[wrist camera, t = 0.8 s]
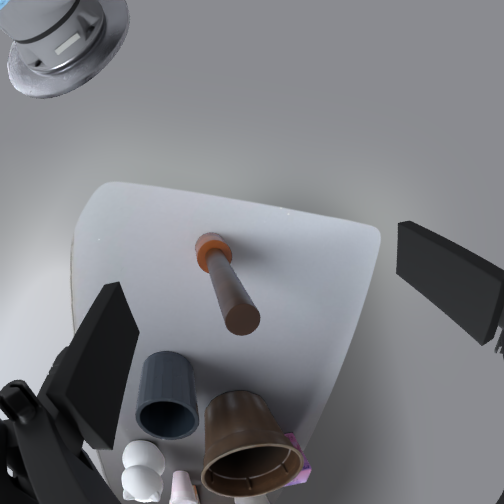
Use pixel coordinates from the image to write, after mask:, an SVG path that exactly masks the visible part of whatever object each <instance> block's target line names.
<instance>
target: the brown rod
mask: <svg viewBox="0 0 504 504" xmlns="http://www.w3.org/2000/svg"><path fill="white" fill-rule="evenodd" d="M195 250H196V256H197V261H198V264H199V266H200V268H201V269H202V270H203V271H205V272H207V273H209V274H210V277H211V280H212V283H213V287H214V290H215V293H216V296H217V299H218V303H219V306H220V309H221V312H222V315H223V318H224V321H225V324H226V327H227V329H228V330H229V331H230V332H231V333H233V334H235V335H240V336H243V335H248V334H250V333H252V332H253V331H254V330H255V329H256V328H257V327H258V325H259V323H260V313H259V311H258V310H257V308H256V306H255V305H254V303H253V301H252V300H251V298H250V296H249V295H248V293H247V292H246V290H245V288H244V287H243V285H242V283H241V282H240V280H239V278H238V277H237V275H236V273H235V272H234V270H233V268H232V267H231V265H230V264H231V260H232V253H231V250H230V248H229V246H228V245H227V244H226V242H225V241H224V240H223V238H222V237H221V236H220V235H218V234H216V233H206V234H203V235H202V236H201V237H200V238H199V239H198V240H197V242H196V245H195Z"/></svg>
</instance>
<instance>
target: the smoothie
mask: <svg viewBox="0 0 504 504" xmlns="http://www.w3.org/2000/svg"><path fill="white" fill-rule="evenodd" d="M169 502H170V504H198V500H196V497H195V494H194V491H193V487H192V484H191V481H190V477H189V474H188V472H186V471H181V470H180V471H175V472H174V473H173V481H172V493H171V499H170V501H169Z"/></svg>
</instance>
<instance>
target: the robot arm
mask: <svg viewBox="0 0 504 504" xmlns="http://www.w3.org/2000/svg"><path fill="white" fill-rule="evenodd" d="M104 23H105V14H104V11H103V8H102V6H101V4H100V2H99V1H98V0H0V29H1V30H2V31H4V32H5V33H6V34H7V35H8V36H10V37H11V38H12V39H13V40H15V41H16V44H17V47H18V50H19V53H20V56H21V59H22V61H23V63H24V64H25V65H26V66H27V67H28V68H29V69H31V70H32V71H34V72H37V73H42V74H46V73H53V72H56V71H59V70H62V69H64V68H66V67H68V66H70V65H71V64H73V63H75V62H76V61H77V60H79V59H80V58H81V57H82V56H84V55H85V54H86V53H87V52H88V51H89V50H90V49H91V48H92V46H93V45H94V44H95V43H96V41H97V40H98V38H99V36H100V34H101V33H102V30H103V27H104ZM397 248H398V249H397V268H396V274H397V275H399V276H400V277H401V278H402V279H404V280H405V281H406V282H408V283H409V284H410V285H411V286H413V287H414V288H415V289H416V290H418V291H419V292H420V293H421V294H423V295H424V296H425V297H426V298H427V299H429V300H430V301H431V302H432V303H433V304H435V305H436V306H437V307H438V308H439V309H441V310H442V311H443V312H444V313H445V314H447V315H448V316H449V317H450V318H451V319H452V320H454V321H455V322H456V323H457V324H458V325H459V326H460V327H462V328H463V329H464V330H465V331H466V332H467V333H468V334H469V335H471V336H472V337H473V338H474V339H475V340H476V341H477V342H478V343H479V344H480V345H481V346H483V345H484V344H486V343H487V342H489V341H490V340H492V339H493V338H494V335H495V332H496V329H497V327H498V326H500V327H501V328H502V332H501V334H500V337H499V340H498V343H497V345H496V347H495V353H497V351H498V349H499V347H501V346H502V348H501V351H500V353H502V354H503V358H504V270H502V269H501V268H499V267H497V266H496V265H494V264H492V263H490V262H489V261H487V260H485V259H483V258H482V257H480V256H478V255H476V254H474V253H472V252H471V251H469V250H467V249H465V248H463V247H462V246H460V245H458V244H456V243H454V242H452V241H450V240H448V239H446V238H444V237H442V236H440V235H438V234H436V233H434V232H432V231H430V230H428V229H426V228H424V227H422V226H420V225H418V224H416V223H414V222H412V221H405V222H400V223H398V246H397ZM139 333H140V332H139V330H138V327H137V325H136V323H135V320H134V318H133V315H132V313H131V311H130V308H129V306H128V303H127V301H126V298H125V296H124V293H123V290H122V288H121V285H120V282H115V283H110V284H105V285H104V286H103V288H102V289H101V291H100V293H99V294H98V296H97V298H96V299H95V301H94V303H93V304H92V306H91V308H90V309H89V311H88V313H87V314H86V316H85V318H84V320H83V321H82V323H81V325H80V327H79V328H78V330H77V332H76V334H75V336H74V338H73V340H72V341H71V343H70V345H69V347H65V348H64V349H63V350H62V351H61V353H60V354H59V355H58V356H57V358H56V359H55V361H54V363H53V367H51V369H50V371H49V375H47V377H46V379H45V381H44V383H43V385H42V387H41V389H40V391H39V393H38V395H37V397H36V396H35V394H34V393H33V392H32V390H31V389H30V388H29V386H28V385H27V384H26V382H25V381H23V380H14V381H12V382H10V383H8V384H7V385H6V386H4V387H3V389H2V390H1V391H0V409H1V410H2V411H3V412H4V414H5V415H6V416H7V417H8V418H9V419H8V420H3V421H2V420H1V419H0V504H121V503H120V501H119V500H118V499H117V497H116V496H115V495H114V493H113V492H112V491H111V489H110V488H109V486H108V485H107V484H106V482H105V481H104V479H103V478H102V476H101V475H100V473H99V472H98V470H97V469H96V467H95V466H94V464H93V463H92V461H91V459H90V458H89V456H88V454H87V453H86V452H85V451H84V450H83V449H82V445H83V441H84V440H85V441H86V442H87V443H88V444H89V445H90V446H91V447H92V448H93V449H99V450H113V445H114V440H115V434H116V429H117V424H118V419H119V414H120V409H121V405H122V400H123V396H124V391H125V387H126V383H127V379H128V374H129V370H130V366H131V363H132V359H133V355H134V351H135V347H136V344H137V340H138V336H139ZM7 467H8V468H10V469H11V470H12V471H13V477H11V476H10V475H9V474H8V472H7ZM496 504H504V491H503V493H502V495H501V496H500V498H499V500H498V501H497V503H496Z"/></svg>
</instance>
